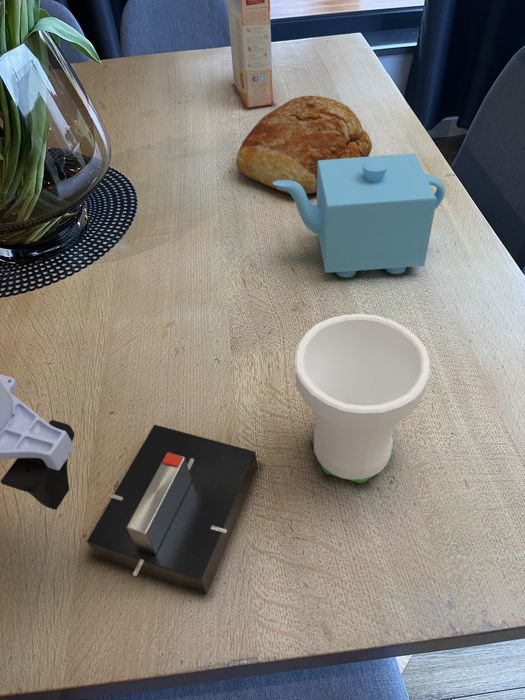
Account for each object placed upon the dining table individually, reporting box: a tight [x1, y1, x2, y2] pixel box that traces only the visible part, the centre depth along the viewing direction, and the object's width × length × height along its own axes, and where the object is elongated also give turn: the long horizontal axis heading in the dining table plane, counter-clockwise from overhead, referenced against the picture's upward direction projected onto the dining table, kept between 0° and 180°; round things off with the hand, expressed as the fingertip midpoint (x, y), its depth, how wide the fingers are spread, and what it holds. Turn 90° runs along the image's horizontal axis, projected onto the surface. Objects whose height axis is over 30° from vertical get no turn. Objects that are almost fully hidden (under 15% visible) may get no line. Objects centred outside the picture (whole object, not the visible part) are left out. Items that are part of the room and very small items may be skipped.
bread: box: [236, 95, 373, 195], centre depth 92 cm, size 20×18×10 cm
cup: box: [294, 313, 431, 484], centre depth 51 cm, size 11×11×14 cm
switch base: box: [86, 424, 258, 595], centre depth 52 cm, size 14×12×3 cm
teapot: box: [273, 153, 446, 278], centre depth 74 cm, size 22×11×14 cm, turn 92°
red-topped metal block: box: [127, 452, 192, 554], centre depth 48 cm, size 8×2×4 cm, turn 160°
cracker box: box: [226, 0, 274, 109], centre depth 111 cm, size 14×6×21 cm, turn 13°
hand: (19, 485), depth 45 cm, fingers open, 7 cm apart
